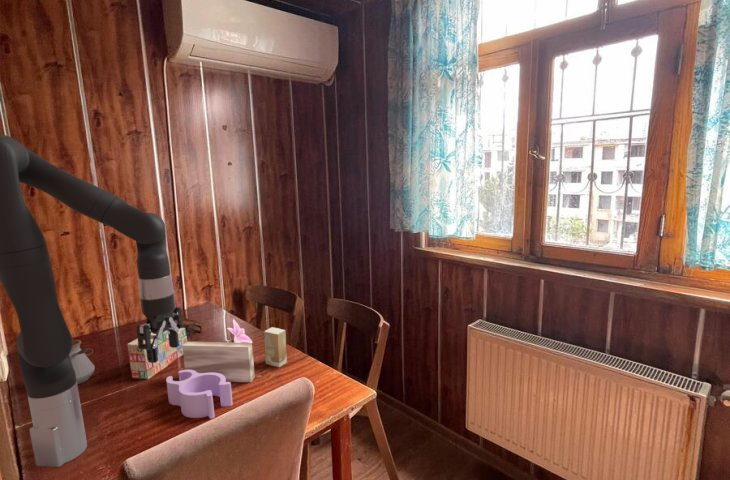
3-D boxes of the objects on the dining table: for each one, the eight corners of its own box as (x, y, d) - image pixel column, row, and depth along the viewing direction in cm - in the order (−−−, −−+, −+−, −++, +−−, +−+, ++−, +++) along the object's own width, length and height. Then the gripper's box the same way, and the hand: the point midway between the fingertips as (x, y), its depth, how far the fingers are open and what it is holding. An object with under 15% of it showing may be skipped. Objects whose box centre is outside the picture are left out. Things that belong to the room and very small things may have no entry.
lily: (231, 359, 146) (242, 336, 145) (210, 341, 151) (221, 319, 150) (252, 355, 157) (263, 334, 156) (232, 339, 161) (243, 318, 161)
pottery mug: (173, 335, 168) (180, 316, 170) (196, 340, 172) (202, 321, 174) (176, 338, 157) (184, 317, 160) (200, 343, 162) (207, 323, 164)
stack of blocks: (174, 350, 153) (170, 319, 151) (188, 351, 152) (185, 320, 149) (131, 378, 132) (126, 343, 130) (148, 380, 131) (143, 344, 129)
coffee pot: (47, 383, 130) (39, 340, 128) (87, 368, 140) (81, 328, 137) (74, 403, 118) (66, 356, 116) (116, 386, 128) (109, 341, 125)
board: (251, 382, 127) (248, 347, 125) (186, 380, 130) (182, 345, 128) (254, 377, 130) (252, 342, 128) (191, 375, 133) (187, 341, 131)
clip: (157, 405, 116) (154, 383, 115) (193, 385, 127) (191, 364, 126) (204, 424, 107) (202, 400, 106) (239, 400, 118) (237, 378, 117)
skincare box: (265, 364, 139) (262, 331, 137) (273, 358, 143) (271, 326, 141) (279, 367, 136) (277, 334, 134) (288, 362, 140) (285, 329, 138)
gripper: (151, 303, 92) (160, 368, 95) (187, 285, 106) (193, 342, 109) (122, 302, 94) (131, 367, 96) (161, 285, 107) (168, 341, 110)
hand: (164, 354), depth 103 cm, fingers open, 8 cm apart
